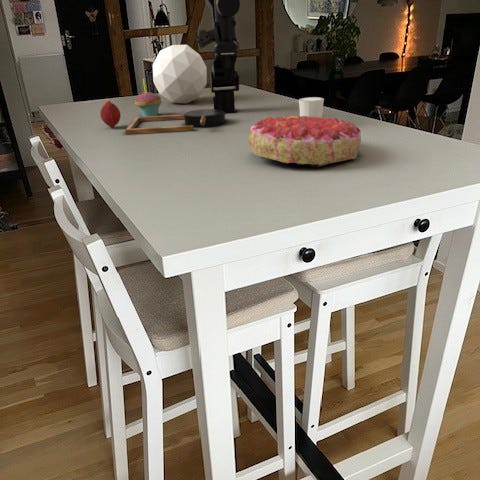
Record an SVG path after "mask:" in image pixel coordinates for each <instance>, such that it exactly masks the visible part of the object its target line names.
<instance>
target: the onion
mask: <svg viewBox="0 0 480 480" xmlns="http://www.w3.org/2000/svg"><path fill="white" fill-rule="evenodd" d="M99 114H100V115H99V116H100V119H101V120H102V122H103V123H104V124H105V125H107V126H108V127H110V128H111V129H113V128H115V127H116V126H117V125H118V123H119V122H120V120H121V110H120V109H119V107H118V106H117V105H116V104H115V103H113V102H111V100H110V99H109V98H107V99H106V100H105V104H103V105H102V107H101V109H100V113H99Z"/></svg>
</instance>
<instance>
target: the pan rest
mask: <svg viewBox="0 0 480 480" xmlns="http://www.w3.org/2000/svg"><path fill="white" fill-rule="evenodd" d="M175 120H178V121H179V120H185V118H184V114H169V115H168V114H167V115H157V116H148V117H143V116H136V117H134V119H133V120H132V121H131V122H130V123H129V125H128V126H127V127H126V128H125V135H136V134H157V133H174V132H175V133H176V132H192V131H194V129H195V128H194V127H193V125H191V126H186V125H177V126H175V125H174V126H157V127H141V128H139V127H138V128H136V127H137V126H138V124H139V123H140V122H142V123H143V122H159V121H175Z"/></svg>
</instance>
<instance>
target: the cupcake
mask: <svg viewBox="0 0 480 480" xmlns="http://www.w3.org/2000/svg"><path fill="white" fill-rule="evenodd" d="M142 82H143V89H144V92H142V93H140V94H138V95H137V96H136V97H135V99H134V105H135V106H137V107H138V109H139V111H140V113H141V115H142V117H148V116H158V115H159V108H160V105H161V104H162V98H161V97H160V96H161V95H160V96H159V94H157V93H153V92H148V90H147V85H146V79H145V78H144V76H142Z"/></svg>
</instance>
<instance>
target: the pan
mask: <svg viewBox="0 0 480 480" xmlns="http://www.w3.org/2000/svg"><path fill="white" fill-rule="evenodd" d="M225 114H226V113H225V112H224V111H223V110H219V109H214V108H206V109H205V108H201V109H196V110H195V109H194V110H189V111H185V112H184V114H183V115H184V118H185V119H184V126H191V125H193V128H212V127H213V128H214V127H217V126H221V125H224V124H226V115H225Z"/></svg>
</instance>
